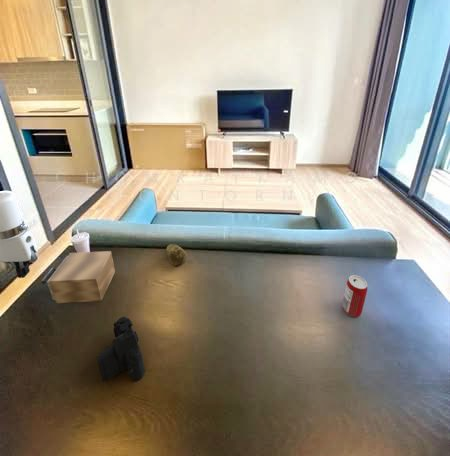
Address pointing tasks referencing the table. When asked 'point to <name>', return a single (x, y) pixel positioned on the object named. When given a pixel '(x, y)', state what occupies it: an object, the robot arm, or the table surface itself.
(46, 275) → the drawer
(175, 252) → the potato
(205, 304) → the table surface
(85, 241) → the smoothie
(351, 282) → the soda can
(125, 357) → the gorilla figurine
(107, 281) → the brown wooden box
